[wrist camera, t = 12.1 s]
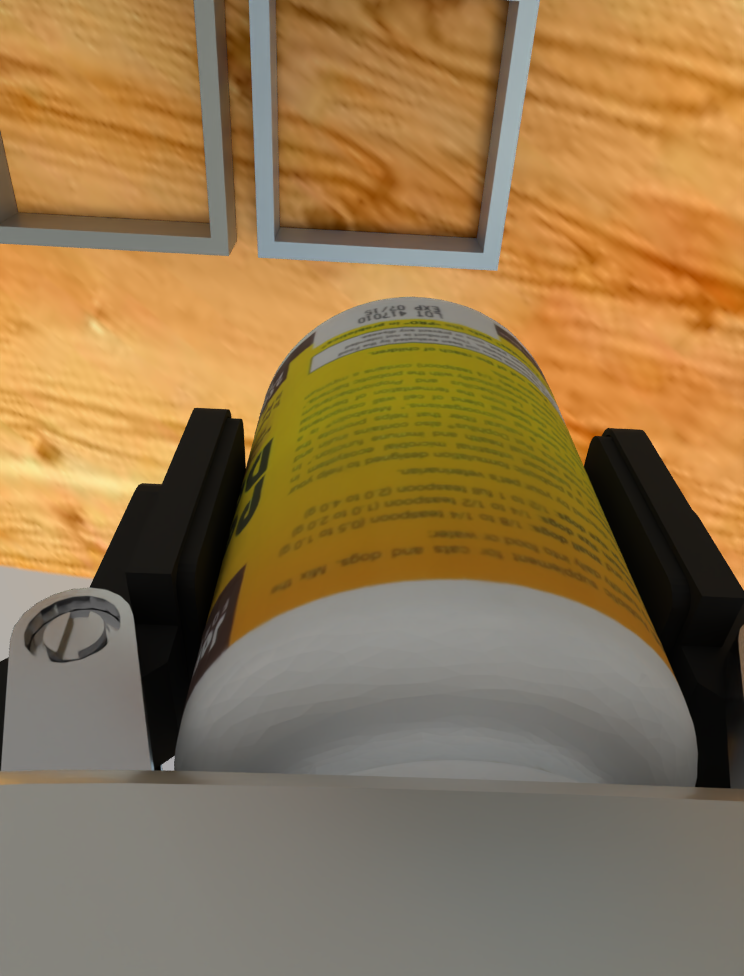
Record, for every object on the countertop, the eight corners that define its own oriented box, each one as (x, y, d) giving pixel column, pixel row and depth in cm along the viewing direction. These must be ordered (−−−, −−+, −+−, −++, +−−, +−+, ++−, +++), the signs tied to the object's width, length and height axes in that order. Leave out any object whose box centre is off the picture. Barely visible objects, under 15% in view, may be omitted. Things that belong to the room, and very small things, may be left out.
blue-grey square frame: (255, -41, 30) (247, -43, 28) (531, -22, 30) (543, -23, 28) (264, 242, 36) (257, 257, 34) (490, 254, 37) (497, 270, 35)
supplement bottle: (246, 288, 12) (-12, 910, 4) (565, 281, 12) (969, 899, 4) (278, 537, 16) (170, 1170, 7) (531, 531, 16) (717, 1164, 7)
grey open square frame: (-62, -62, 29) (-95, -67, 27) (222, -43, 30) (210, -45, 28) (5, 228, 36) (-17, 242, 34) (236, 240, 36) (228, 255, 34)
